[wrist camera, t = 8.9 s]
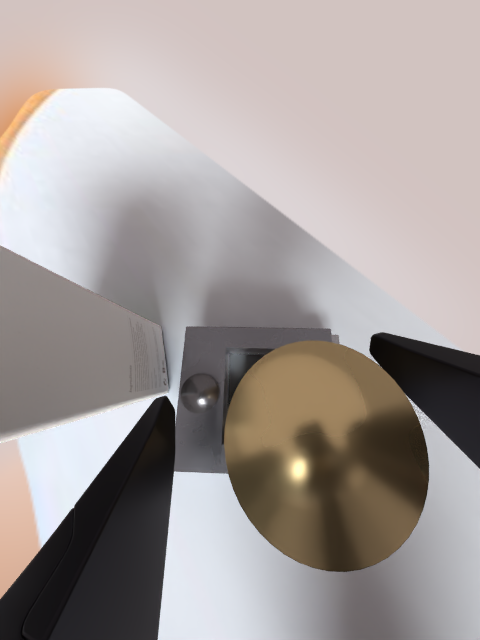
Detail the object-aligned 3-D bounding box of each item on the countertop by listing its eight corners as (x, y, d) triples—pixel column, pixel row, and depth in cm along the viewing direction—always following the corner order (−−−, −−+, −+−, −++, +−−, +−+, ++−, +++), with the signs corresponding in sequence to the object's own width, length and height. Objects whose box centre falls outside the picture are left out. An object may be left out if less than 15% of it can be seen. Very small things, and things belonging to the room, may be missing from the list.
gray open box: (327, 339, 17) (356, 327, 13) (340, 452, 15) (381, 485, 10) (198, 337, 18) (183, 324, 13) (189, 446, 15) (166, 476, 11)
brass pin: (294, 383, 16) (456, 410, 4) (270, 426, 15) (378, 638, 3) (256, 357, 17) (287, 308, 5) (231, 396, 16) (184, 468, 4)
